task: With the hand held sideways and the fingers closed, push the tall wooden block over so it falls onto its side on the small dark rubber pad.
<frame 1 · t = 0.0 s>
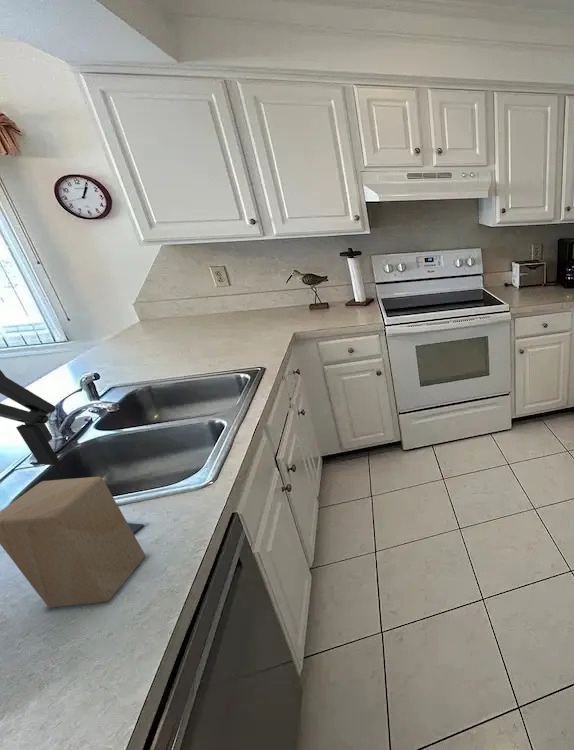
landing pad: (107, 539, 85), on the worktop
wooden block: (101, 581, 76), on the worktop
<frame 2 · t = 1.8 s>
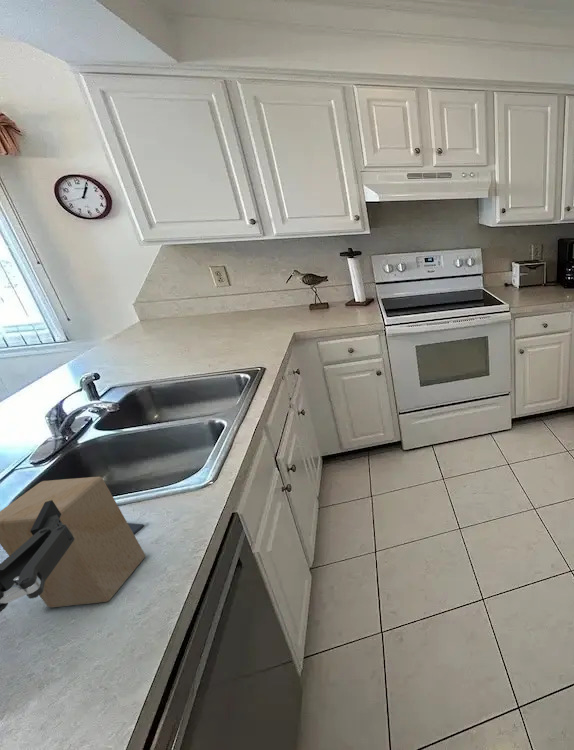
hand: (7, 522, 57), 24 cm above the worktop, tool horizontal, fingers open, 9 cm apart
nothing on the worktop moved.
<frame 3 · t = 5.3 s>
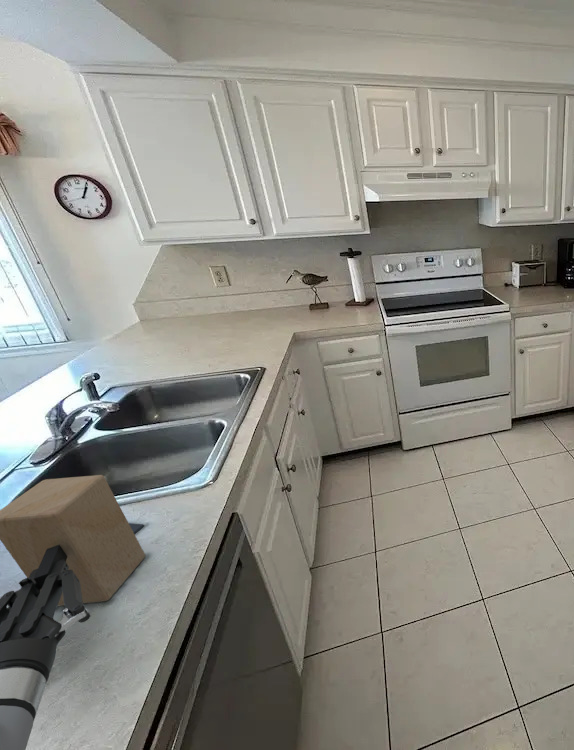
hand: (57, 552, 66), 13 cm above the worktop, tool horizontal, fingers closed
wooden block: (100, 581, 76), on the worktop, touching gripper
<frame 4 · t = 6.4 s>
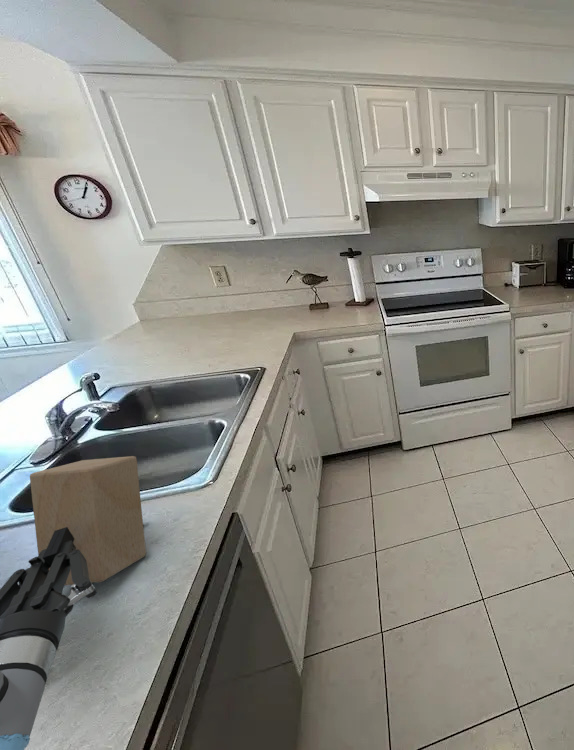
hand: (64, 534, 69), 13 cm above the worktop, tool horizontal, fingers closed
wooden block: (97, 572, 75), point 2 cm above the worktop, touching gripper
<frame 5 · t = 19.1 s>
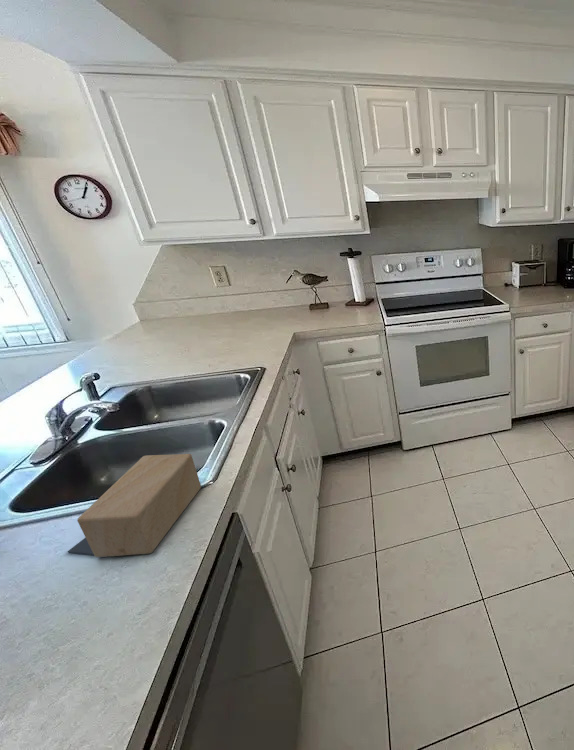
wooden block: (114, 538, 78), point 5 cm above the worktop, touching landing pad
at the end: wooden block tilted 90°; wooden block inside the target area (8.9 cm from its centre), point 5.4 cm above the worktop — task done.
